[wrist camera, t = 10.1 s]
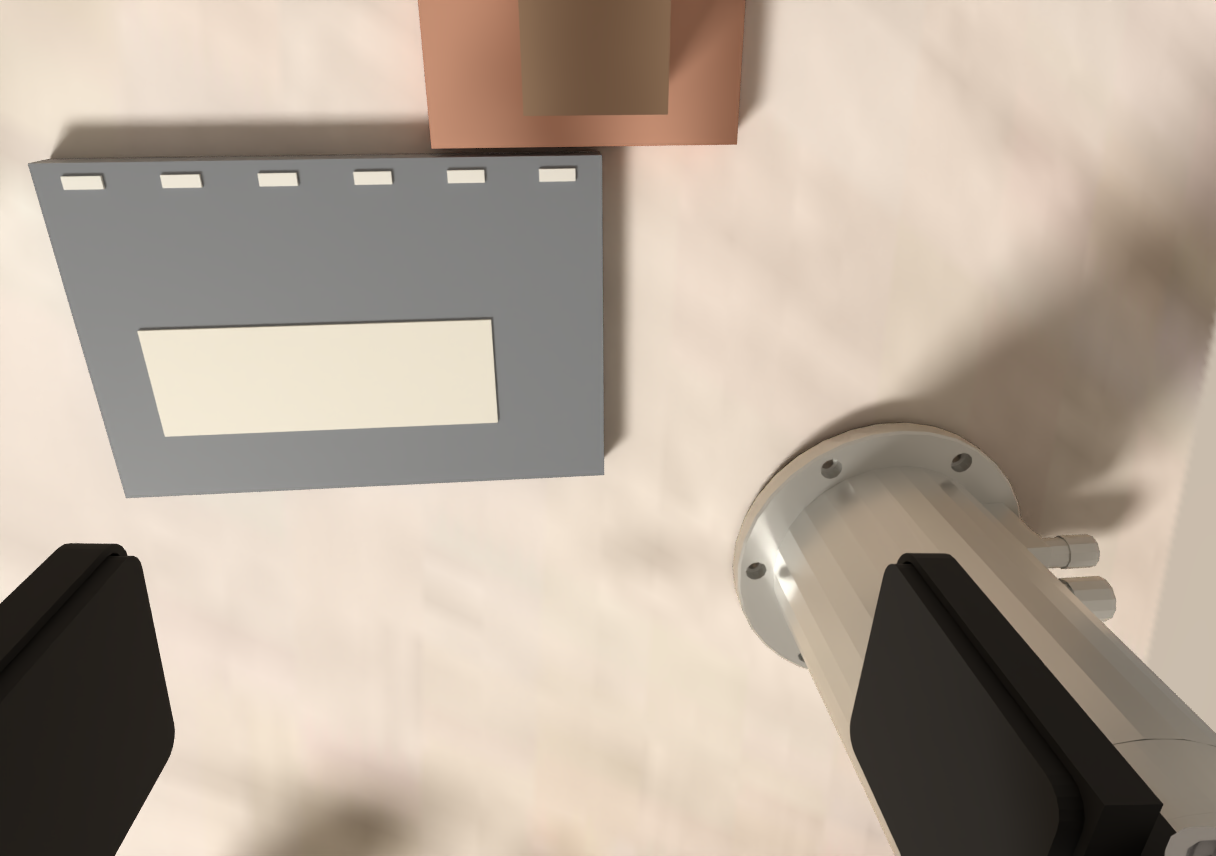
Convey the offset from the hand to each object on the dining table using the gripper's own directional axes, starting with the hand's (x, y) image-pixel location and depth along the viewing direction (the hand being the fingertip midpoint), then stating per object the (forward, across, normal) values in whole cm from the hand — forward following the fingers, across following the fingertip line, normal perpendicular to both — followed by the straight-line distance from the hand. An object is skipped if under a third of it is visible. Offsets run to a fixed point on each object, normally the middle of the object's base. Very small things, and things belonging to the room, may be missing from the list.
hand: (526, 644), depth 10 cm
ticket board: (+21, +7, +2) cm, 22 cm away
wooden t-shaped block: (+21, -1, -8) cm, 22 cm away
